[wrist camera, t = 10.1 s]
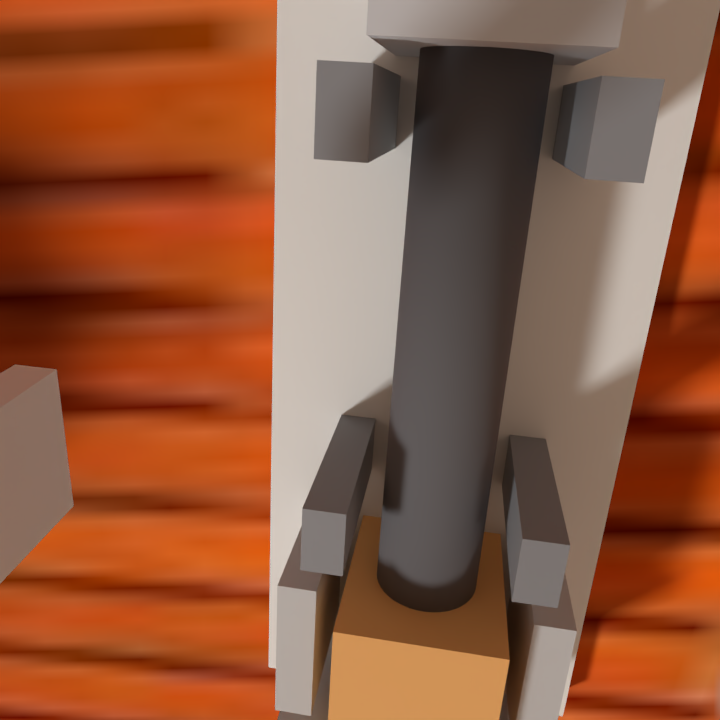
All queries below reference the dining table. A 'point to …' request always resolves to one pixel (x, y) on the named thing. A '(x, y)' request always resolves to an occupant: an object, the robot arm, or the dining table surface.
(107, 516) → the dining table surface
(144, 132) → the dining table surface
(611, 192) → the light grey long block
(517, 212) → the rod with end blocks
